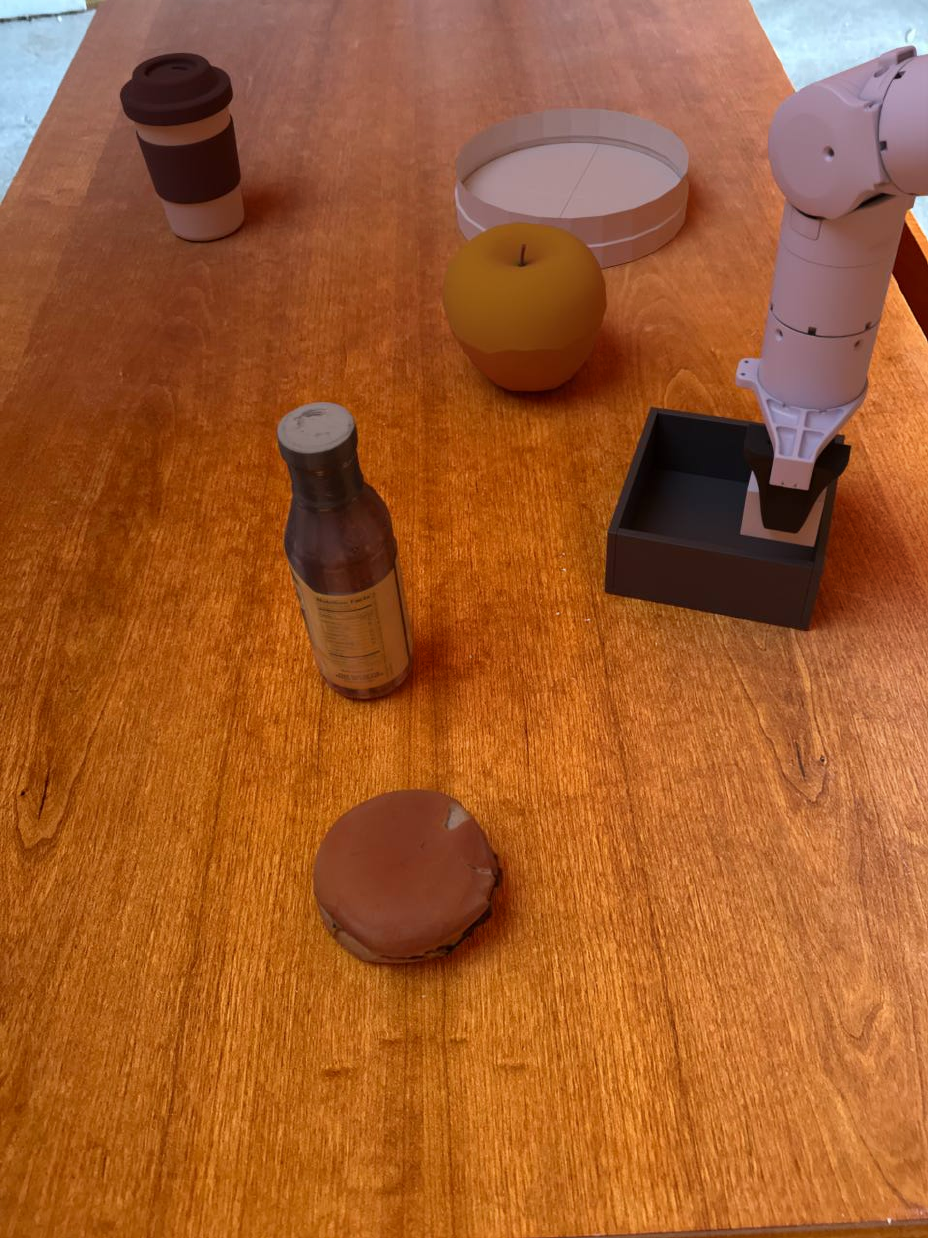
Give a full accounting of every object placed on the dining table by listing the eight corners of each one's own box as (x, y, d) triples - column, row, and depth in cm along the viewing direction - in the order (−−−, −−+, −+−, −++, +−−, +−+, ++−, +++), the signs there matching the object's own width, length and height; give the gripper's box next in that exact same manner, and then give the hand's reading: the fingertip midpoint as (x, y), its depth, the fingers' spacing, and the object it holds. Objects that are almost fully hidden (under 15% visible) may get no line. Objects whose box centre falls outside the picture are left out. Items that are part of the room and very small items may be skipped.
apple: (506, 441, 87) (500, 310, 78) (416, 362, 94) (403, 235, 86) (638, 378, 91) (647, 248, 83) (542, 307, 99) (541, 181, 90)
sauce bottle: (344, 621, 75) (293, 370, 60) (431, 644, 73) (400, 391, 59) (299, 695, 71) (232, 446, 56) (390, 721, 69) (346, 470, 55)
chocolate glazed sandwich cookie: (285, 920, 61) (269, 876, 57) (384, 793, 66) (376, 746, 62) (439, 1013, 57) (433, 971, 53) (532, 870, 62) (532, 824, 59)
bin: (830, 496, 81) (845, 434, 76) (808, 631, 72) (823, 570, 68) (646, 466, 84) (650, 406, 80) (604, 592, 76) (607, 532, 72)
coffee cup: (185, 261, 107) (143, 101, 96) (141, 222, 113) (95, 66, 102) (277, 225, 111) (246, 67, 100) (229, 189, 117) (194, 35, 106)
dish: (423, 254, 106) (418, 203, 102) (495, 146, 119) (493, 98, 116) (659, 284, 100) (663, 232, 96) (707, 167, 114) (712, 117, 110)
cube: (821, 504, 71) (831, 459, 69) (813, 547, 69) (824, 502, 66) (749, 492, 72) (757, 448, 70) (739, 534, 70) (747, 490, 67)
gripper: (767, 228, 65) (738, 420, 75) (724, 377, 56) (698, 572, 66) (896, 242, 63) (849, 436, 73) (874, 397, 54) (824, 594, 64)
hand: (786, 502), depth 69 cm, fingers closed on cube, 4 cm apart
